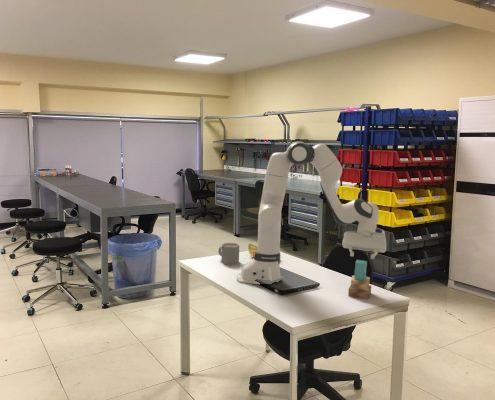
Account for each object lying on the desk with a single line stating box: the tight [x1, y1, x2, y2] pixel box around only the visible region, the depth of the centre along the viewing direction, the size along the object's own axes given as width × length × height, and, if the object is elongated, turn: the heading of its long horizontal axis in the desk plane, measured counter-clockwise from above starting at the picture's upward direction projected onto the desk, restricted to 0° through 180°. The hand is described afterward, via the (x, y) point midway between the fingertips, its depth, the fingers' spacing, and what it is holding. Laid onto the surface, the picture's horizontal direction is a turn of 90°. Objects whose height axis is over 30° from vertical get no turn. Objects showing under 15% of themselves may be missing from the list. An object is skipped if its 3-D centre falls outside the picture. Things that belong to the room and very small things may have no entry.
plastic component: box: [247, 242, 258, 258], centre depth 271 cm, size 20×7×10 cm
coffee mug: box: [217, 242, 240, 265], centre depth 260 cm, size 13×10×10 cm
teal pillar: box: [354, 259, 368, 281], centre depth 210 cm, size 4×4×8 cm
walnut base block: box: [347, 284, 372, 300], centre depth 211 cm, size 9×9×4 cm
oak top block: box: [350, 274, 371, 291], centre depth 211 cm, size 8×8×4 cm
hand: (362, 257), depth 212 cm, fingers open, 8 cm apart
